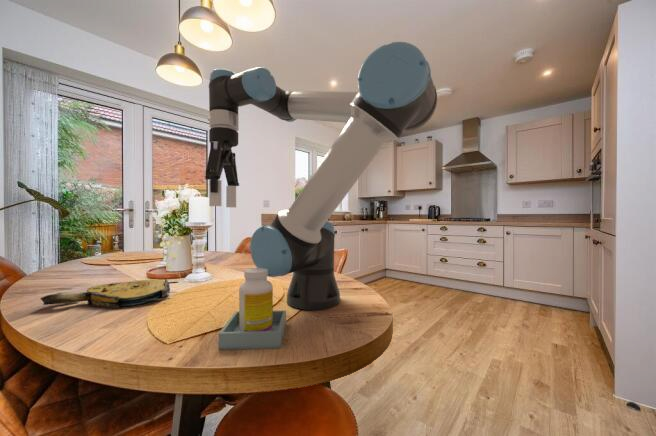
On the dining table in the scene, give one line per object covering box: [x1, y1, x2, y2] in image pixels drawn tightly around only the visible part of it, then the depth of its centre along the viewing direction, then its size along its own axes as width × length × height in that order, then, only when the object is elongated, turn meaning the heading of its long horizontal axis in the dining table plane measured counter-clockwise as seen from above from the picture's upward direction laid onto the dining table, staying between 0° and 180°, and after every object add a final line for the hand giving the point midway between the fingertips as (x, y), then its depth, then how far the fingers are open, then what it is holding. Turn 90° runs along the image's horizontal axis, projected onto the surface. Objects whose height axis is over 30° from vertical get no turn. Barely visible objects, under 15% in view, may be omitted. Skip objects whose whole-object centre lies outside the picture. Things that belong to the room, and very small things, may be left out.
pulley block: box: [40, 278, 179, 309], centre depth 75 cm, size 14×6×30 cm
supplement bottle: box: [238, 267, 274, 332], centre depth 55 cm, size 7×7×13 cm
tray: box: [218, 310, 287, 351], centre depth 55 cm, size 11×11×3 cm
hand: (224, 207), depth 75 cm, fingers open, 13 cm apart
